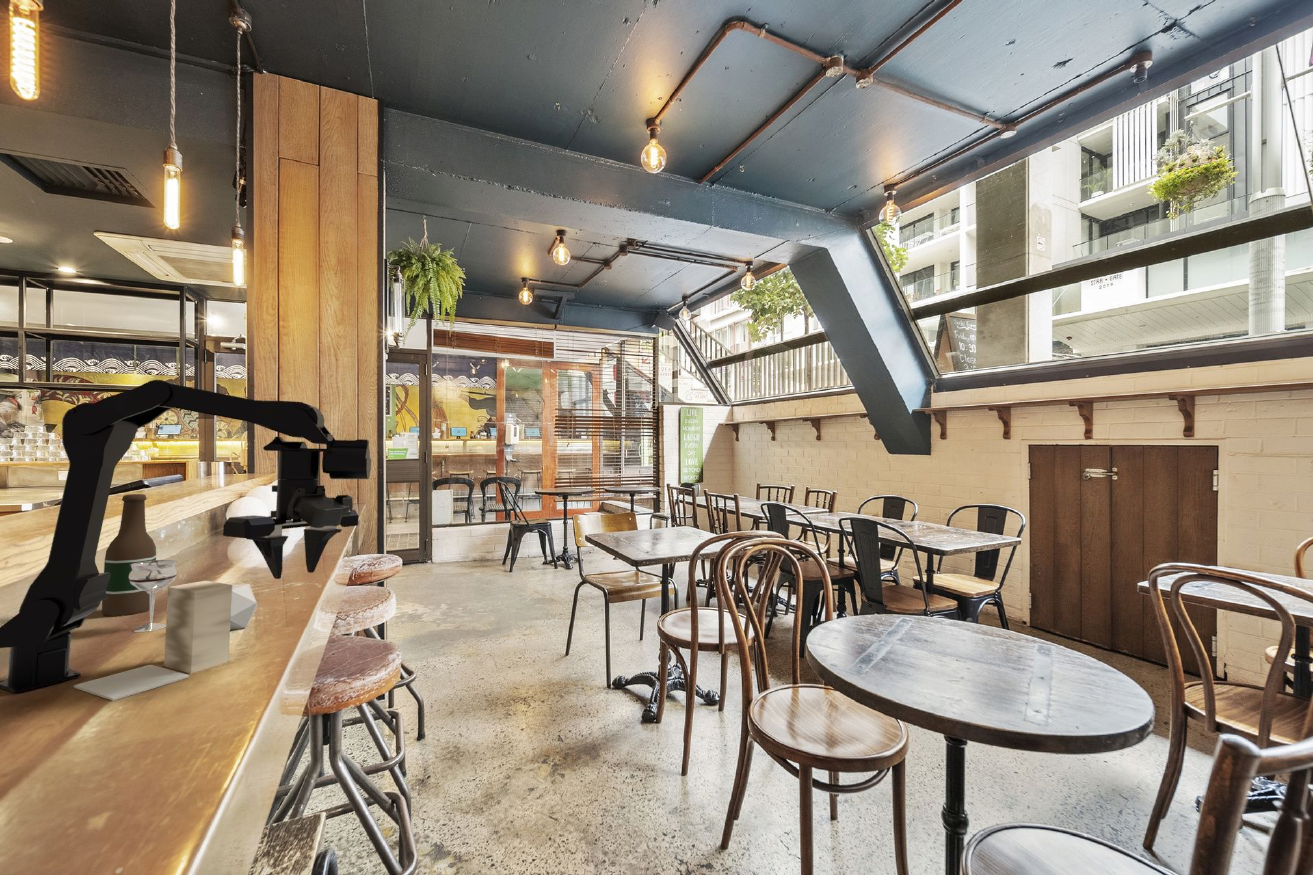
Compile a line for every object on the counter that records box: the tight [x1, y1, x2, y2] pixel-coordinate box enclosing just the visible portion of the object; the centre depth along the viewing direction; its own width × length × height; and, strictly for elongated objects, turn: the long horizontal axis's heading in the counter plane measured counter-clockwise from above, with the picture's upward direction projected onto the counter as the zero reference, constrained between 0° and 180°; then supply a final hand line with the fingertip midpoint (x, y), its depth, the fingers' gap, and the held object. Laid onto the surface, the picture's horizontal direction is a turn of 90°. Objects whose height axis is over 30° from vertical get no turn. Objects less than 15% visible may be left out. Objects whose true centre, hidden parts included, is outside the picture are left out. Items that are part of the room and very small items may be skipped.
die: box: [230, 583, 259, 631], centre depth 102 cm, size 8×9×10 cm
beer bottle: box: [101, 493, 157, 617], centre depth 112 cm, size 8×8×24 cm
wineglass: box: [129, 559, 178, 633], centre depth 102 cm, size 7×7×12 cm
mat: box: [73, 664, 190, 702], centre depth 77 cm, size 10×8×1 cm
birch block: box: [163, 580, 232, 674], centre depth 84 cm, size 7×5×12 cm
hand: (294, 575), depth 88 cm, fingers open, 5 cm apart
